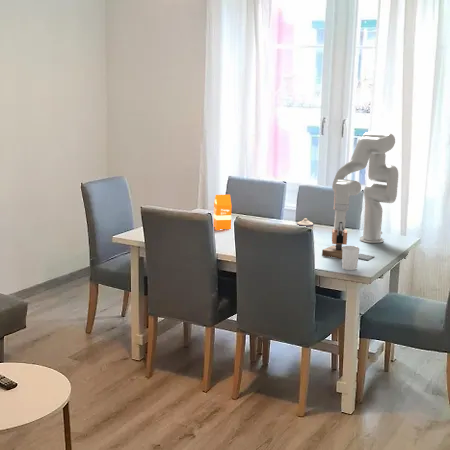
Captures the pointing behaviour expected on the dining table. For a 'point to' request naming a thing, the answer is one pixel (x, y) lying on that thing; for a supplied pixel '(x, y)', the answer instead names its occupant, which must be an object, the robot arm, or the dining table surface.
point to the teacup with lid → (305, 223)
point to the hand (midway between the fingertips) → (339, 241)
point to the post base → (333, 251)
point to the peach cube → (334, 236)
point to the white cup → (350, 257)
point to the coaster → (365, 257)
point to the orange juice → (222, 212)
